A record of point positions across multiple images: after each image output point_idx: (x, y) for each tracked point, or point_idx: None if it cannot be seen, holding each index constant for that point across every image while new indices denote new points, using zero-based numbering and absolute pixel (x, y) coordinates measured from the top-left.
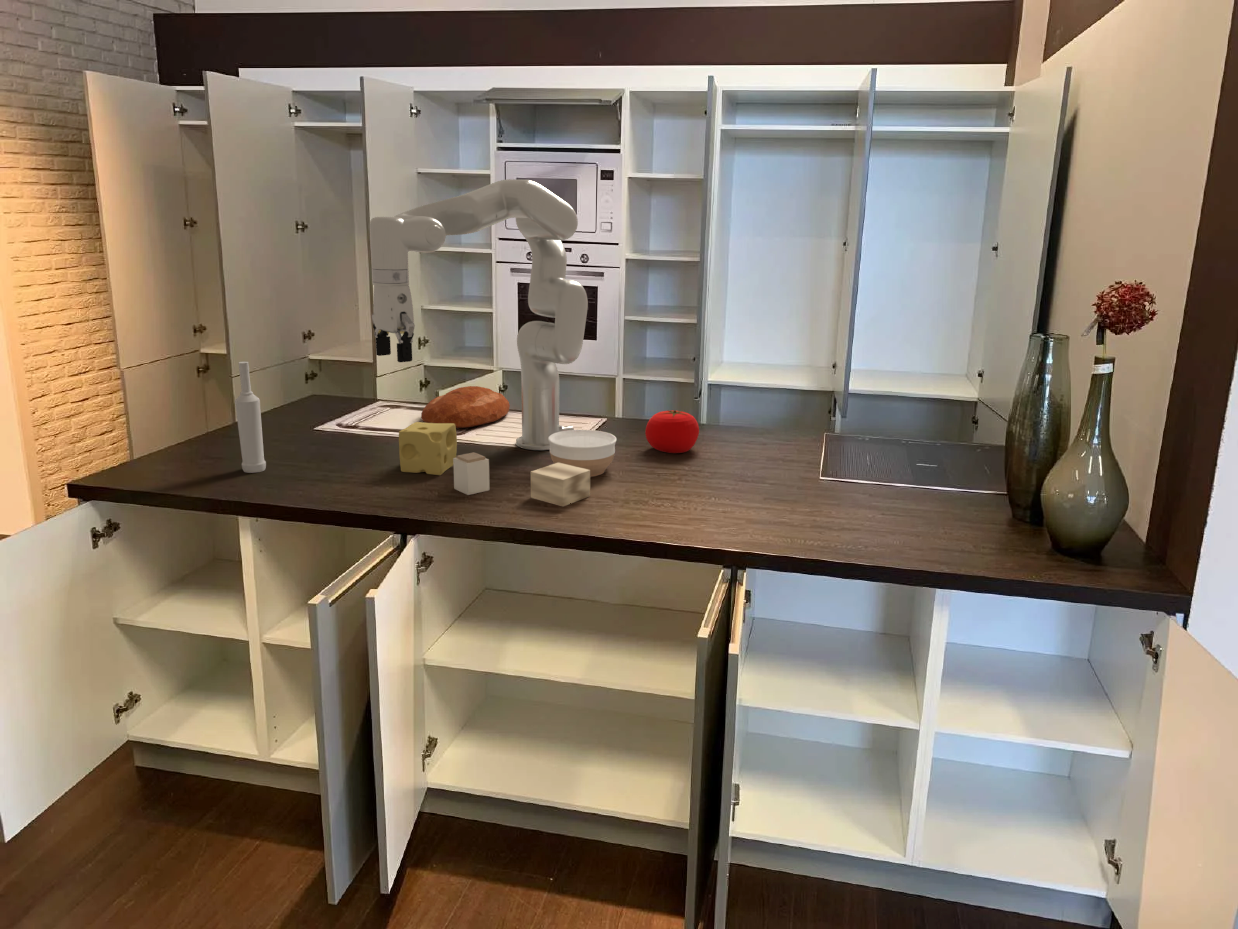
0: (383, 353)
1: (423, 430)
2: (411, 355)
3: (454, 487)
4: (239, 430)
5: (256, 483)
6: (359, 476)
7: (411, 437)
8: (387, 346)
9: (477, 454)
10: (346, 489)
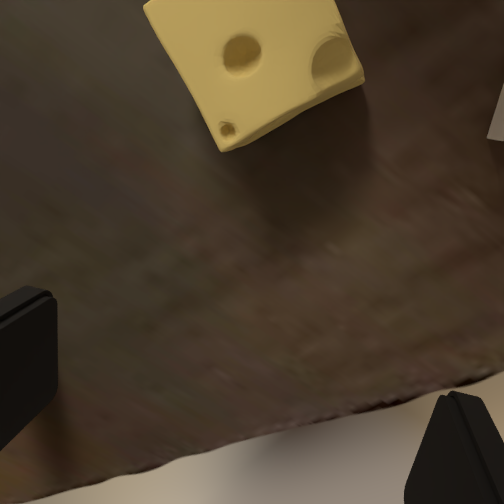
0: (50, 363)
1: (275, 78)
2: (496, 438)
3: (488, 138)
4: None
5: (115, 386)
6: (210, 235)
7: (264, 127)
8: (1, 358)
9: None
10: (271, 311)
